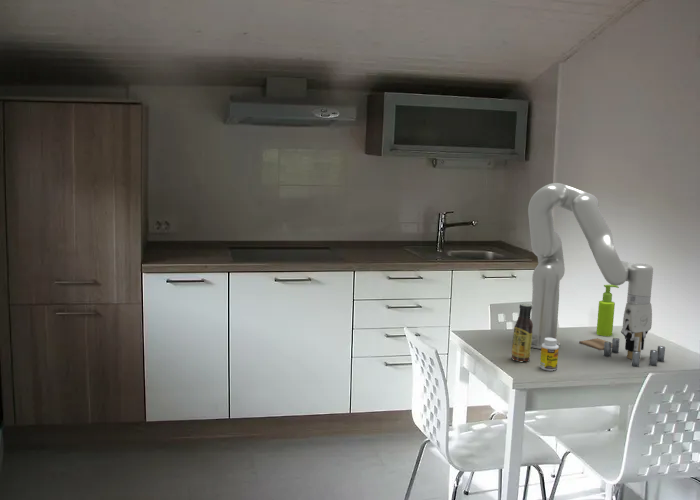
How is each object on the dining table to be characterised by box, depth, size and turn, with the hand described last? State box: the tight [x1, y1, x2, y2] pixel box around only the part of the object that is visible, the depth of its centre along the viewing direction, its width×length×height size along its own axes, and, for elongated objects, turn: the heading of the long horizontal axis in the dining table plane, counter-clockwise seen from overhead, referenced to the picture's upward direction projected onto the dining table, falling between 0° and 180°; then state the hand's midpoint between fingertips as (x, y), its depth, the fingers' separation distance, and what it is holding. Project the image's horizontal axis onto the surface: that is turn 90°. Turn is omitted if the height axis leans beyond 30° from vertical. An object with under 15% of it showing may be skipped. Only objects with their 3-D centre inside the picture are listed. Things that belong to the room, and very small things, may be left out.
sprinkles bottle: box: [626, 332, 642, 360], centre depth 246 cm, size 5×5×14 cm
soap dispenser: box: [595, 284, 620, 337], centre depth 276 cm, size 6×7×20 cm
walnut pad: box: [579, 337, 612, 351], centre depth 263 cm, size 10×10×1 cm
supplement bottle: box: [539, 338, 560, 372], centre depth 233 cm, size 6×6×10 cm
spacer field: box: [603, 337, 666, 368], centre depth 247 cm, size 15×18×5 cm
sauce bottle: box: [511, 302, 533, 362], centre depth 241 cm, size 7×6×20 cm
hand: (634, 349), depth 247 cm, fingers closed on sprinkles bottle, 4 cm apart
